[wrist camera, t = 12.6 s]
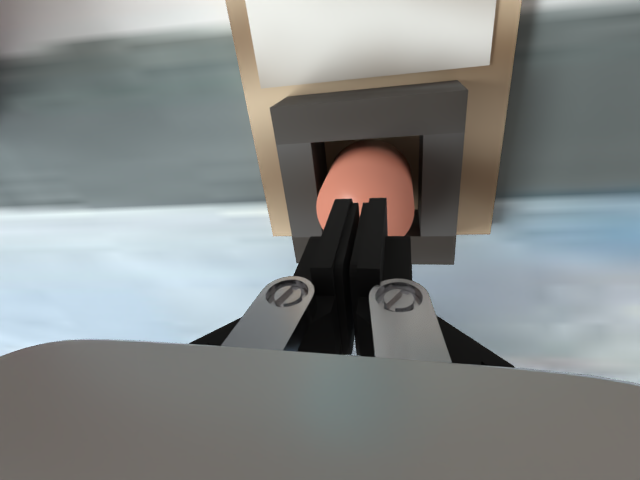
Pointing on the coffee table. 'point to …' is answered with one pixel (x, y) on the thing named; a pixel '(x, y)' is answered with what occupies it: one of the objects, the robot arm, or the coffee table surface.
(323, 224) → the button
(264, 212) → the coffee table surface
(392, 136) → the drawing board
